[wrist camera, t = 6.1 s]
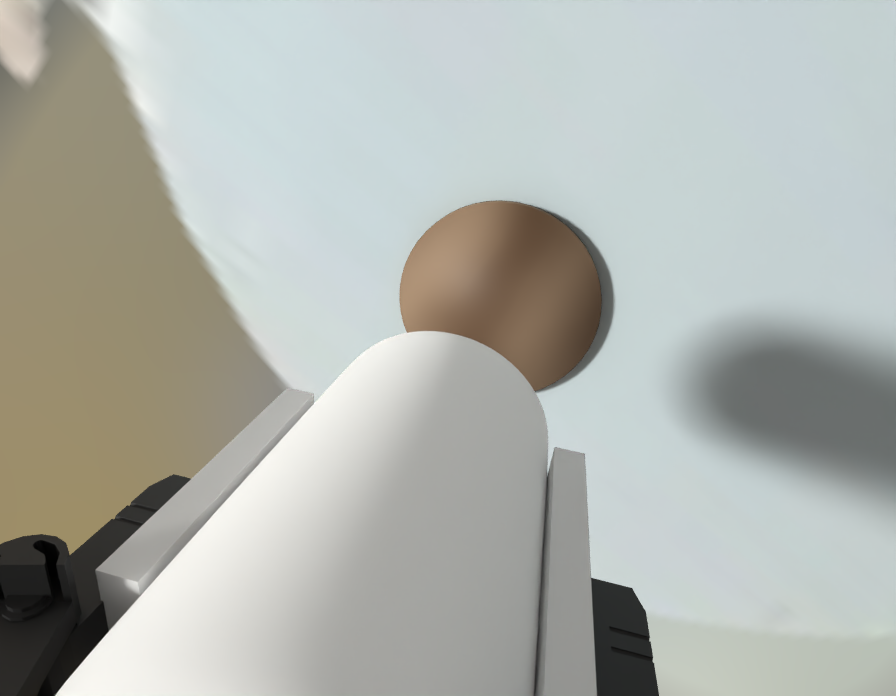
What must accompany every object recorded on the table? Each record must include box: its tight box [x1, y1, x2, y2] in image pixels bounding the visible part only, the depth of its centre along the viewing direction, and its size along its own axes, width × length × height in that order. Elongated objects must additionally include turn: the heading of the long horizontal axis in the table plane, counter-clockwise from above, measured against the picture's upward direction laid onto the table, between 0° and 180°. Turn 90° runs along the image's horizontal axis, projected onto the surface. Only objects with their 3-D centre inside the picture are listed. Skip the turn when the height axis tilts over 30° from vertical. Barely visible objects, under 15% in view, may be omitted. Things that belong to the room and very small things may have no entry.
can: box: [55, 331, 548, 696], centre depth 11 cm, size 6×6×12 cm
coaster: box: [400, 200, 602, 391], centre depth 27 cm, size 10×10×1 cm
